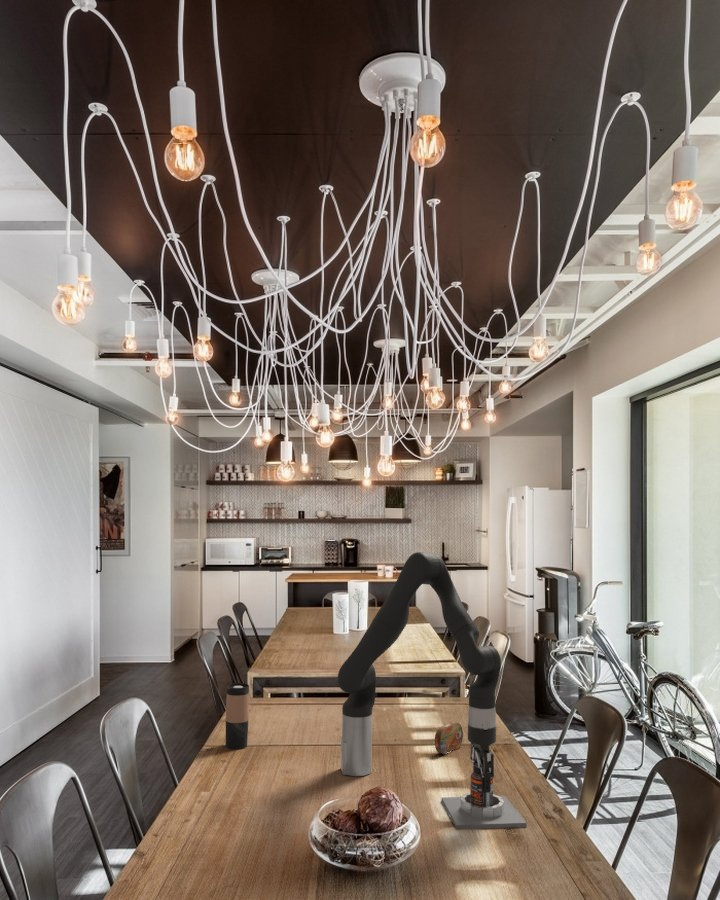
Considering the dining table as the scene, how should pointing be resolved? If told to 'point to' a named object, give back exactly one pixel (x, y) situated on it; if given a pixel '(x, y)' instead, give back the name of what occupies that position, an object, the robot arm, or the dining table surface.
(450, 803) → the duct base board
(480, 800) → the supplement bottle
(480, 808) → the collar
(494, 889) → the dining table surface
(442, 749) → the tin
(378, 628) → the robot arm
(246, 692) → the travel mug
